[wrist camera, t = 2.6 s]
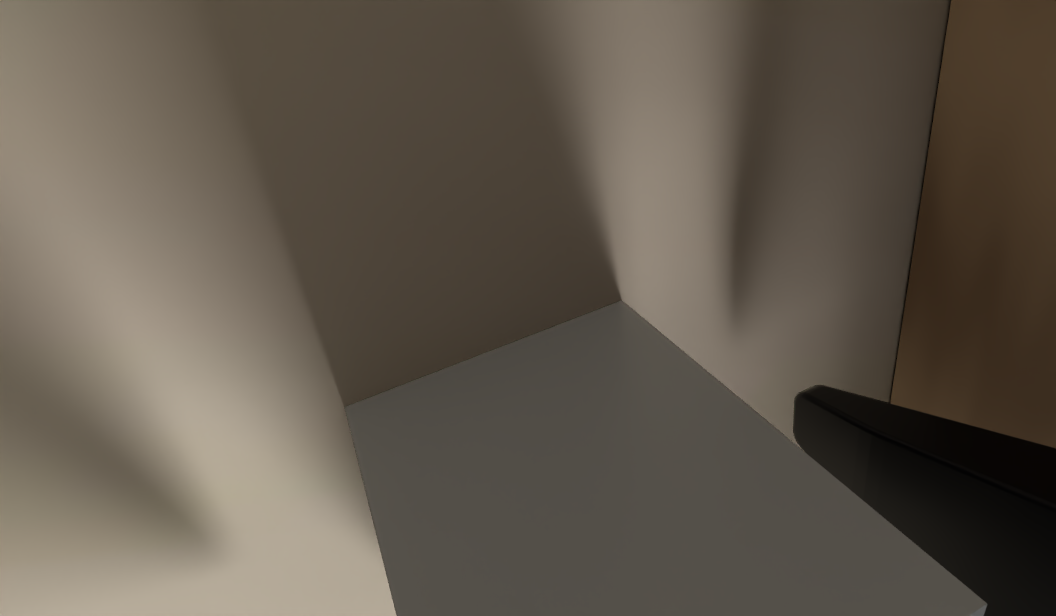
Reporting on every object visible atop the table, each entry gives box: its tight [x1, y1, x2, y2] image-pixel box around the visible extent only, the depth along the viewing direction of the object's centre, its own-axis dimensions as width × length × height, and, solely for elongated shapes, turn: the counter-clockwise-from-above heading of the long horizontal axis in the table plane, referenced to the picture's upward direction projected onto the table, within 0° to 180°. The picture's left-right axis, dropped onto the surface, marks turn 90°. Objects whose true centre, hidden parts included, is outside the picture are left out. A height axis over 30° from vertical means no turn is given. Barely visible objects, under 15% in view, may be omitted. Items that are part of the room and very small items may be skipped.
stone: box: [345, 300, 987, 616], centre depth 8 cm, size 4×4×6 cm
